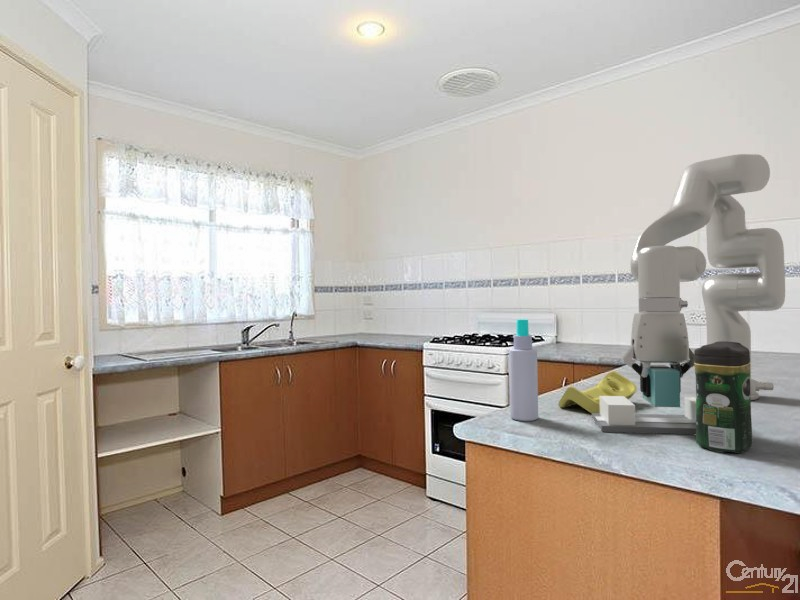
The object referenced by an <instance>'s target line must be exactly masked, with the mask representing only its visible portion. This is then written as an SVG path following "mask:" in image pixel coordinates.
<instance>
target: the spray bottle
mask: <svg viewBox="0 0 800 600" xmlns="http://www.w3.org/2000/svg"><path fill="white" fill-rule="evenodd" d="M532 339H533V338H532V335H531V334H529V319H525V318H523V319H519V318H518V319H516V335H515V334H514V335H513V347H510V348H508V349H509V350H508V355H509V356H508V357H509V359H508V363H509V366H508V367H509V402H510V403H509V412H510V413H509V415H510V416H509V417H510V418H511V419H513V420H514V421H519V422H532V421H536V420H538V418H539V390H538V389H539V386H538V385H539V384H538V378H539V377H538V376H539V375H538V349H537V348H535V347H533V340H532Z"/></svg>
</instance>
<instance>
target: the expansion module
mask: <svg viewBox="0 0 800 600" xmlns="http://www.w3.org/2000/svg"><path fill="white" fill-rule="evenodd" d="M648 374H649V378H650V393H651V396H650V397H646V396H644V395H643V392H641V393H642V395H641V396H642V397H641V398H642V399H644V400H645V401H646V402H648V403H649V404H651V405H652V406H654V407H655V408H656V407H658V408H681V392H680V371H678V370H675V369H673V368H670V366H667V365H666V364H650V368H649V372H648Z"/></svg>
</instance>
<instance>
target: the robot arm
mask: <svg viewBox="0 0 800 600" xmlns="http://www.w3.org/2000/svg"><path fill="white" fill-rule="evenodd" d="M770 169H771V168H770V164H769V162H768V160H767V159H766V158H765V157H764V156H763V155H761V154H756V153H755V154H753V153H752V154H750V153H748V154H747V153H738V154H732V155H727V156H722V157H716V158H711V159H706V160H700V161H698V162H694V163H692V164H689V165H688V166H686V167H685V168H684V170H682V172H681V175H680V177H679V180H678V182H677V187H676V190H675V193H674V195H673V198H672V201H671V204H670V208H669V210H667V211H666V212H664V213H663V214H662V215H660V216H659V217H657V218H656V219H655V220H654V221H653V222H651V223H650V224H649V225H647V227H646V228H644V230H643V231H642V232H641V233H640V235H639V236H638V238H637V241H636V243H635V246H634V249H633V251H632V256H631V260H630V273H631V275H632V277H633V279H635V280H636V281H637V282H638V288H637V289H638V312H637V313H634V314H633V319H632V325H631V326H632V327H631V333H630V335H631V336H630V348H629V349H628V350H627V351H626V353H625V355H623V357H622V358H621V361H622V363H625V364H626V365H627V366H628V367H630V368H631V369H632V370H634V371H635V372H636V373H637V374H638V376H639V387H640V388H639V390H640V393H642V392H643V395H644V396H646V397H650V396H651V393H650V378H649V374H648V372H649V368H650V365H652V363H655V364H657V363H659V364H660V363H661V364H663V363H665V364H667V363H668V364H669V367H670V368H673V369H675V370H678V371H680V393H681V392H682V391H681V389H682V387H681V383H682V381H681V380H682V379H681V378H683V376H684V375H685V374H687V372H688V371H689V370H690V369H691V368H693V367H695V365H694V363H695V362H694V359H695V353H694V352H693V351H692V349H691V348H690V343H689V335H688V328H687V322H686V319H685V314H684V313H681V311H682V309H683V308H688V306H689V303H688V301H687V300H683V299H682V298H681V297H680V296H681V292H680V291H681V289H680V288H681V287H680V285H681V284H680V283H688V282H694V281H696V280H698V279H700V278H701V277H702V275H704V273H705V271H706V268H707V260H708V263H709V264H710V266H711V267H713V268H717V269H745V268H746V269H747V268H748V269H749V268H757V269H758V270H759V272H746V273H745V272H744V273H743V272H737V273H735V272H734V273H719V274H716V275H715V274H714V275H711V276H709V277H708V278H706V279H705V280H704V282H703V283H702V286H701V295H702V301H703V306H704V312H705V319H706V320H705V321H706V323H705V324H706V345H708V344H712V343H715V342H719V341H725V342H737V343H740V344H741V345H743V346H745V347H746V348H748V349H749V353H750V396H751V401H754V400H758V399H759V398H760V394H759V391H762V390H764V391H773V390H774V388H775V387H774V383H773V382H766V381H765V382H762V381H757V380H756V379H754V378H752V345H751V344H752V343H751V341H752V339H751V338H752V337H751V333H752V331H751V327H750V325H749V323H748V322H747V320H746V319H745V318H744V316H742V315H741V314H740V313H739V312H771V311H772V312H773V311H776V310H779V309H781V308H782V307H783V306H784V304H785V299H786V274H785V273H786V272H785V271H786V269H785V247H784V242H783V238H782V235H781V233H780V232H779V231H778V230H777V229H775V228H770V227H762V228H761V227H760V228H747V227H746V211H745V208H744V207H743V206H742V204H741V203H740V202H739V201H738V200H737V199H736V198H735V197H733V195H739V194H740V195H741V194H746V193H747V194H748V193H754V192H755V193H756V192H759V191H762V190H764V188H765V187H767V185H768V182H769V179H770V176H771V171H770ZM704 227H705V229H706V230H705V231H706V251H707V259H706V256H705V253H703V252H702V251H701V250H700V249H699V248H698V247H694V246H688V245H687V246H686V245H685V246H683V245H682V246H673V245H667V244H669V243H672V242H674V241H676V240H678V239H681V238H682V237H686V236H687V235H690V234H692V233H695V232H696V231H699V230H701V229H702V228H704ZM633 359H634V360H636V361H638V362H639V364H638V363H636V362H635V361H633Z"/></svg>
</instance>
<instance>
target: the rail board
mask: <svg viewBox="0 0 800 600" xmlns="http://www.w3.org/2000/svg"><path fill="white" fill-rule="evenodd" d="M599 401H600V413H591V419H592V418H593V419H594V421H595V422H596V423H595V422H594V421H593V422H594V423H595V425H596V424H597V425H598V426H597V425H596V426H597V428H598V429H599V428H600V429H601V430H600V429H599V430H600V432H601V431H604V432H603V433H623V432H635V433H634V434H657V433H671V434H670V435H691V434H696V396H694V397H692V396H689V397H688V396H685V397H684V414H661V413H660V414H659V413H658V414H656V413H654V414H653V413H652V414H651V413H636V405H635V404H634V403H633V402H632V401H631V400H630V399H627V398H626V397H624V396H599ZM593 419H592V420H593ZM636 432H637V433H636ZM672 433H673V434H672Z"/></svg>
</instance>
